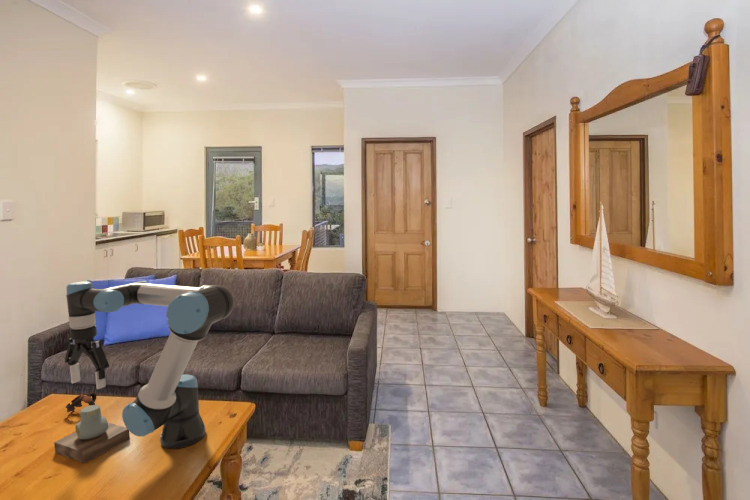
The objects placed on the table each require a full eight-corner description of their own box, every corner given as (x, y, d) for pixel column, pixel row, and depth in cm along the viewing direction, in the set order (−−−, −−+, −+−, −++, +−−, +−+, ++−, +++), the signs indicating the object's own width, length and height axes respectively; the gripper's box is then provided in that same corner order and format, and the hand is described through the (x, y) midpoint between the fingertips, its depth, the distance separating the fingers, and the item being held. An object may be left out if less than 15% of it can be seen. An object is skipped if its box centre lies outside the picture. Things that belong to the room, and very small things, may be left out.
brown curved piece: (88, 418, 168) (74, 403, 166) (71, 426, 170) (57, 412, 168) (107, 397, 180) (94, 384, 177) (91, 405, 181) (78, 392, 179)
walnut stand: (129, 438, 152) (128, 428, 151) (85, 463, 137) (83, 452, 137) (101, 430, 158) (100, 420, 157) (55, 453, 143) (54, 442, 143)
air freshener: (74, 434, 148) (72, 407, 147) (101, 425, 154) (99, 399, 153) (82, 445, 140) (80, 418, 139) (110, 435, 146) (108, 409, 145)
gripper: (117, 326, 142) (122, 385, 144) (71, 320, 151) (76, 375, 153) (95, 332, 135) (101, 394, 137) (49, 325, 144) (54, 383, 146)
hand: (88, 384), depth 145 cm, fingers open, 13 cm apart
